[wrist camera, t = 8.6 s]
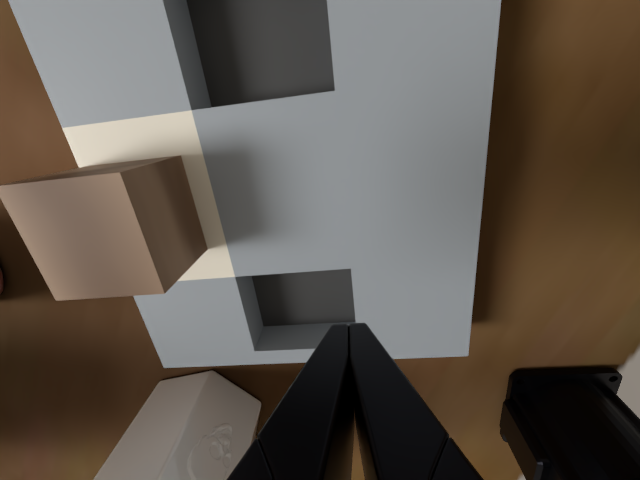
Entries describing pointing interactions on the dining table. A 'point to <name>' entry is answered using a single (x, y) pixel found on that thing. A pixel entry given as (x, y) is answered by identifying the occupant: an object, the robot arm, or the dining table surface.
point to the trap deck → (292, 159)
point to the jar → (186, 432)
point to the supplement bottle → (1, 282)
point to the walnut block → (109, 227)
